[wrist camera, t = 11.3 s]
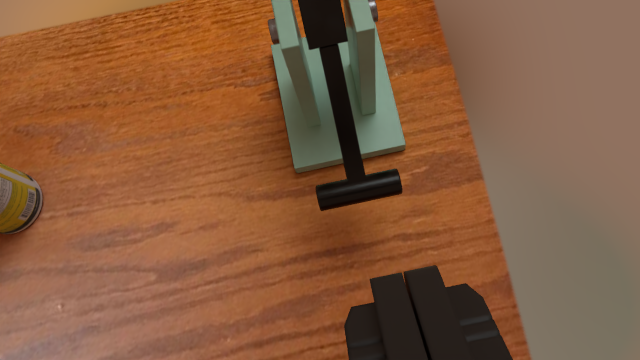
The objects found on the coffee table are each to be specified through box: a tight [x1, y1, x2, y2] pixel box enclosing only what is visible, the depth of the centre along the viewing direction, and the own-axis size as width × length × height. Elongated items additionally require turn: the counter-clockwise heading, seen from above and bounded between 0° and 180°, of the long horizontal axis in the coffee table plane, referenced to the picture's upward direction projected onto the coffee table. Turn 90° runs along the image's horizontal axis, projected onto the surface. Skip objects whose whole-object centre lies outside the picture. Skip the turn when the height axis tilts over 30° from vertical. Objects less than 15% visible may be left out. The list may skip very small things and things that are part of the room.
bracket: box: [268, 0, 406, 173], centre depth 36 cm, size 10×8×13 cm
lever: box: [298, 0, 402, 211], centre depth 32 cm, size 12×5×2 cm, turn 11°
